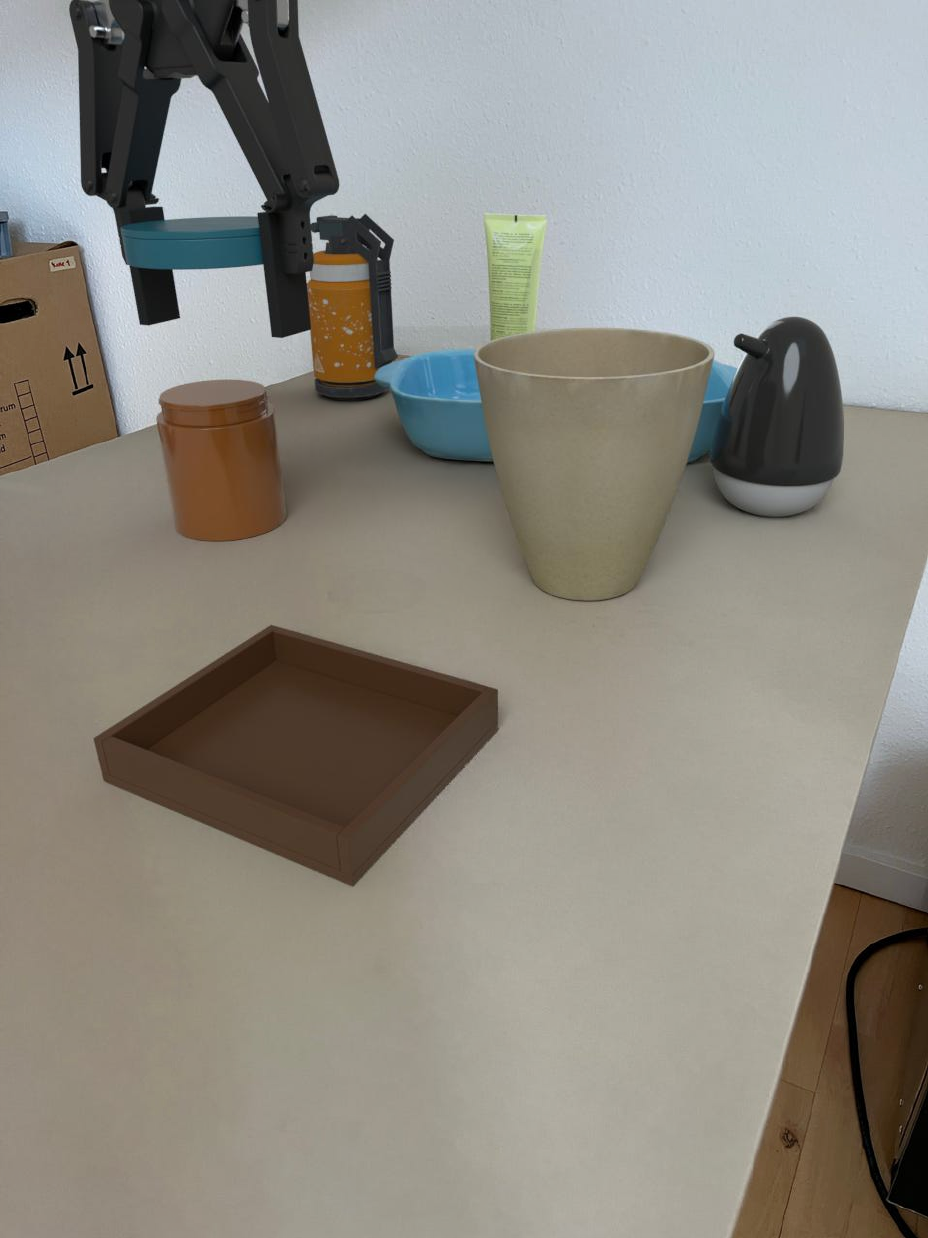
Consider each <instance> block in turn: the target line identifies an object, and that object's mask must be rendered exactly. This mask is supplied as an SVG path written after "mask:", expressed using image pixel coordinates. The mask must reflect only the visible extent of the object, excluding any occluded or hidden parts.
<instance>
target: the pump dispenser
mask: <svg viewBox="0 0 928 1238" xmlns="http://www.w3.org/2000/svg"><path fill="white" fill-rule="evenodd" d="M733 346H734V347H735V348H736V349H739V350H740V351H742V352H744V353H745V354H744V356H743V358H742V360H741V361H740V363H739V364H738V367H737V368H738V369H737V371H736V374H735V376H734V378H733V380H732V383H731V385H730V387H729V390H728V392H727V395H726V397H725V400H724V403H723V406H722V409H721V412H720V415H719V419H718V422H717V426H716V430H715V434H714V438H713V442H712V447H711V450H710V454H709V460H710V461H709V462H710V464H711V466H712V467H713V473H714V478H715V482H716V484H717V487H718V490H719V491H720V493H721V494H722V496H723V497H724V498H725V499H726V500H727V501H728V502H729V503H730V504H732V505H733V506H734V507H735V508H737V509H740V510H742V511H743V512H746V513H749V514H752V515H756V516H762V517H769V518H782V517H790V516H795V515H798V514H801V513H804V512H806V511H808V510H810V509H813V508H814V507H815V506H817V504H818V503H819V502H821V501H822V499H824V497H825V496H826V495H827V494H828V492H829V490H830V488H831V487H832V485H833V483H834V480H835V478H837V477H838V476H839V475H840V473H841V471H842V466H843V459H844V445H845V414H844V413H845V411H844V402H843V401H844V400H843V393H842V386H841V379H840V375H839V369H838V365H837V360H836V357H835V354H834V351H833V348H832V345H831V343H830V340H829V339H828V337H827V334H826V333H825V331H824V330H823V329H822V328H821V326H820V325H818V323H816V322H815V321H813V320H811V319H808V318H805V317H801V316H785V317H782V318H779V319H776V320H774V321H772V322H770V323H769V324H767V325H766V326H765V327H764V328H763V329H762V330H761V331H760V332H759V333H758V335H756V336H755V337H754V336H751V335H749V334H745V333H738V334H736V335H735V337H734V338H733Z"/></svg>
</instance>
